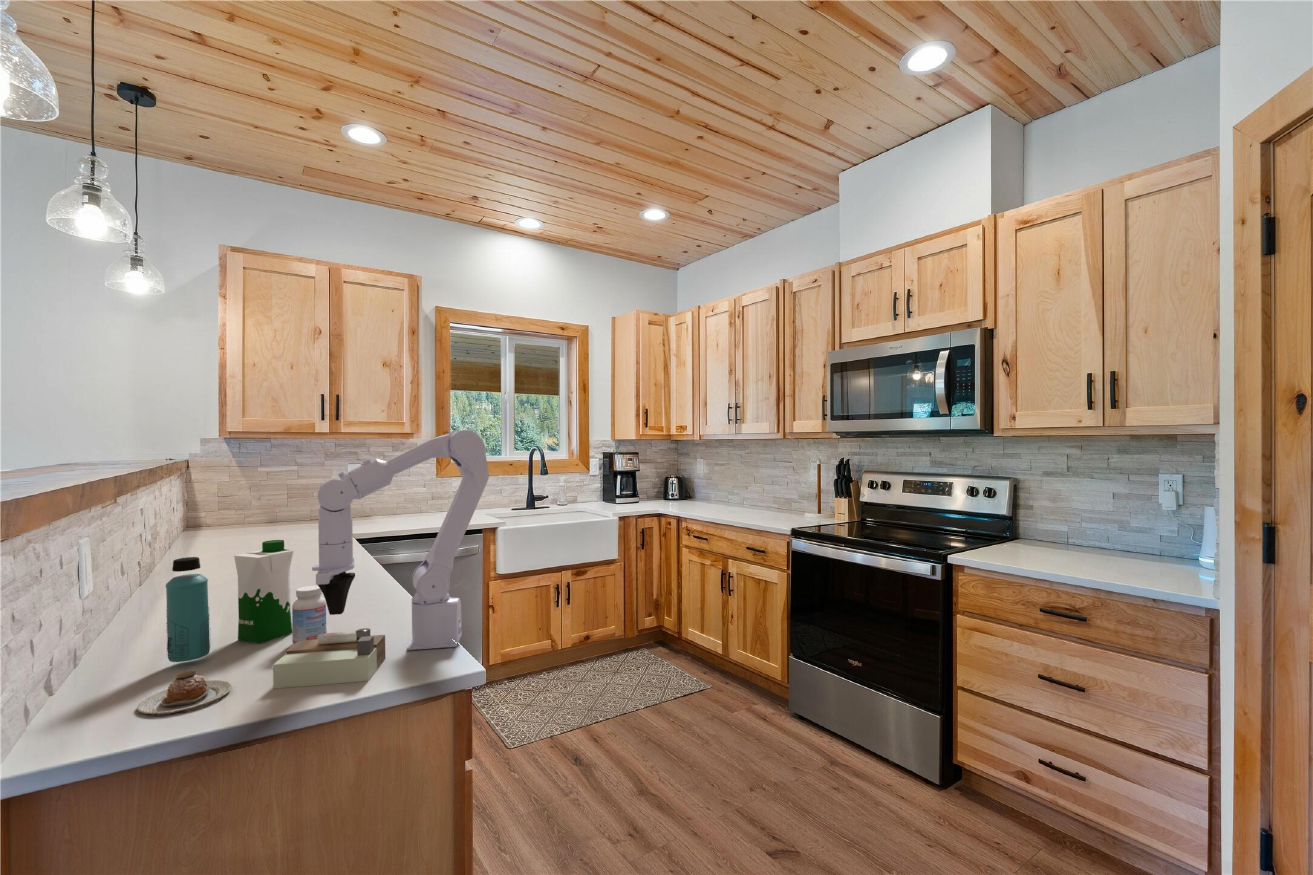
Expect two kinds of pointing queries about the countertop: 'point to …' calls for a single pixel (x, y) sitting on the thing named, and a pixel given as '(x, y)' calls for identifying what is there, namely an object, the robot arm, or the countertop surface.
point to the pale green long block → (327, 666)
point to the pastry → (184, 693)
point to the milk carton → (264, 593)
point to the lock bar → (342, 636)
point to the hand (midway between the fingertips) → (336, 613)
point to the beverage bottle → (187, 613)
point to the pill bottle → (308, 614)
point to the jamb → (337, 647)
